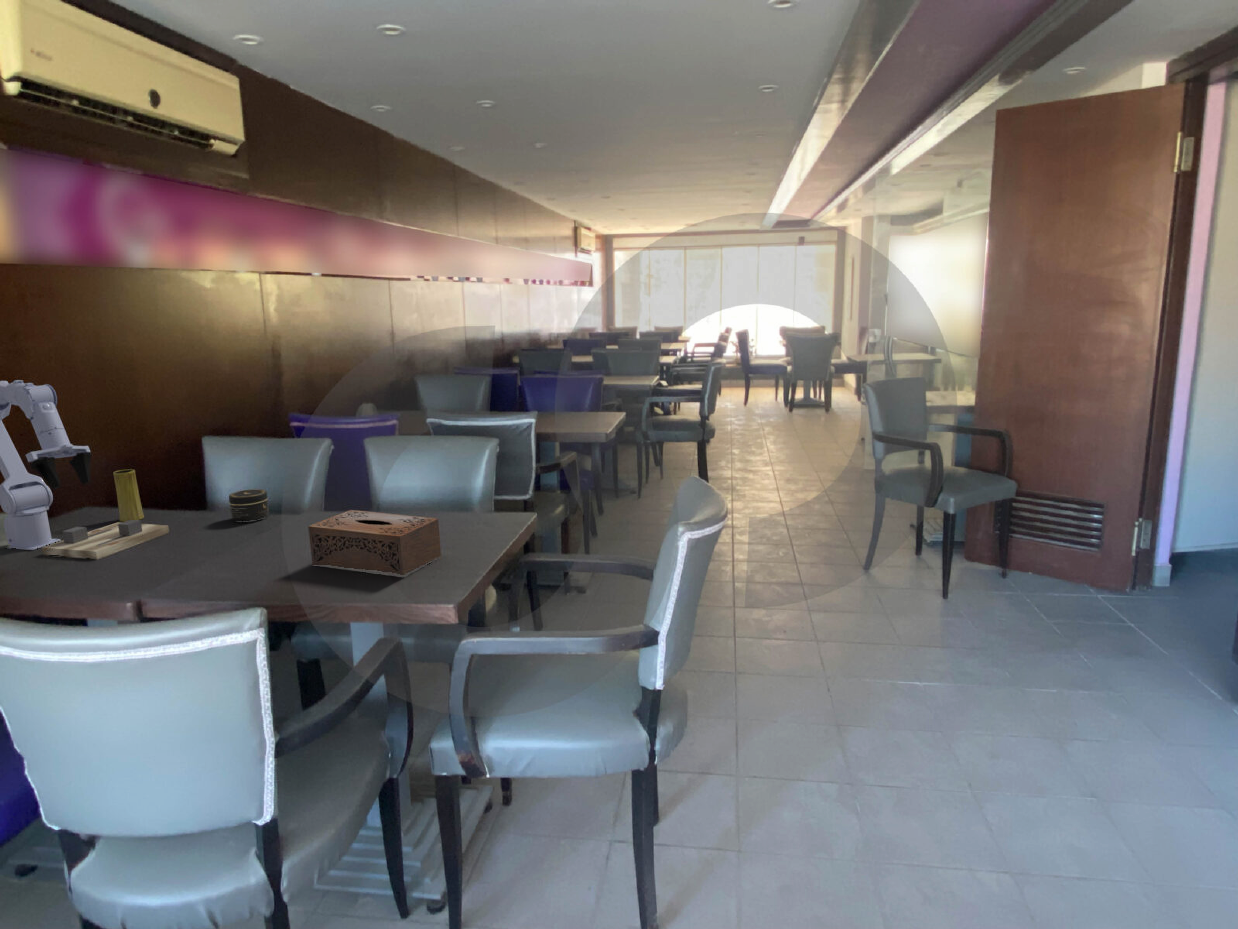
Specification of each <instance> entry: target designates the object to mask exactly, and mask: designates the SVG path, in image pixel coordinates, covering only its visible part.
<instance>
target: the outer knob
mask: <svg viewBox="0 0 1238 929" xmlns="http://www.w3.org/2000/svg"><path fill="white" fill-rule="evenodd" d="M141 520H142V519H140V520H129V521H126V522H121V523H120V524H118V528H119V534H120V535H124V536H131V535H134V534H136V533H139V532H142V525H141V524H142V521H141Z"/></svg>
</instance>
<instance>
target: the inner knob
mask: <svg viewBox="0 0 1238 929" xmlns="http://www.w3.org/2000/svg"><path fill="white" fill-rule="evenodd" d="M61 532H62V537H63V540H64V543H77V542H80V541H83V540H86V539H88V534H87V532H88V529H87V526H86V527H83V526H75V527H72V528H69V529H65V530H62V531H61Z"/></svg>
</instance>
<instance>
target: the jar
mask: <svg viewBox="0 0 1238 929" xmlns="http://www.w3.org/2000/svg"><path fill="white" fill-rule="evenodd" d="M268 500H269V498H268V492H267V491H266V490H265V489H262V488H261V489H259V488H258V489H257V488H255V489H254V488H250V489H244V490H239V491H235V492H232V493H230V494H229V495H228V504H229V508H230V515H231V518H232V520H233V521H234V520H235V521H242V522H243V521H250V520H258V519H261V518H264V517H267V518H268V516H269V513H270V510H269V501H268ZM235 521H234V522H235Z"/></svg>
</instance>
